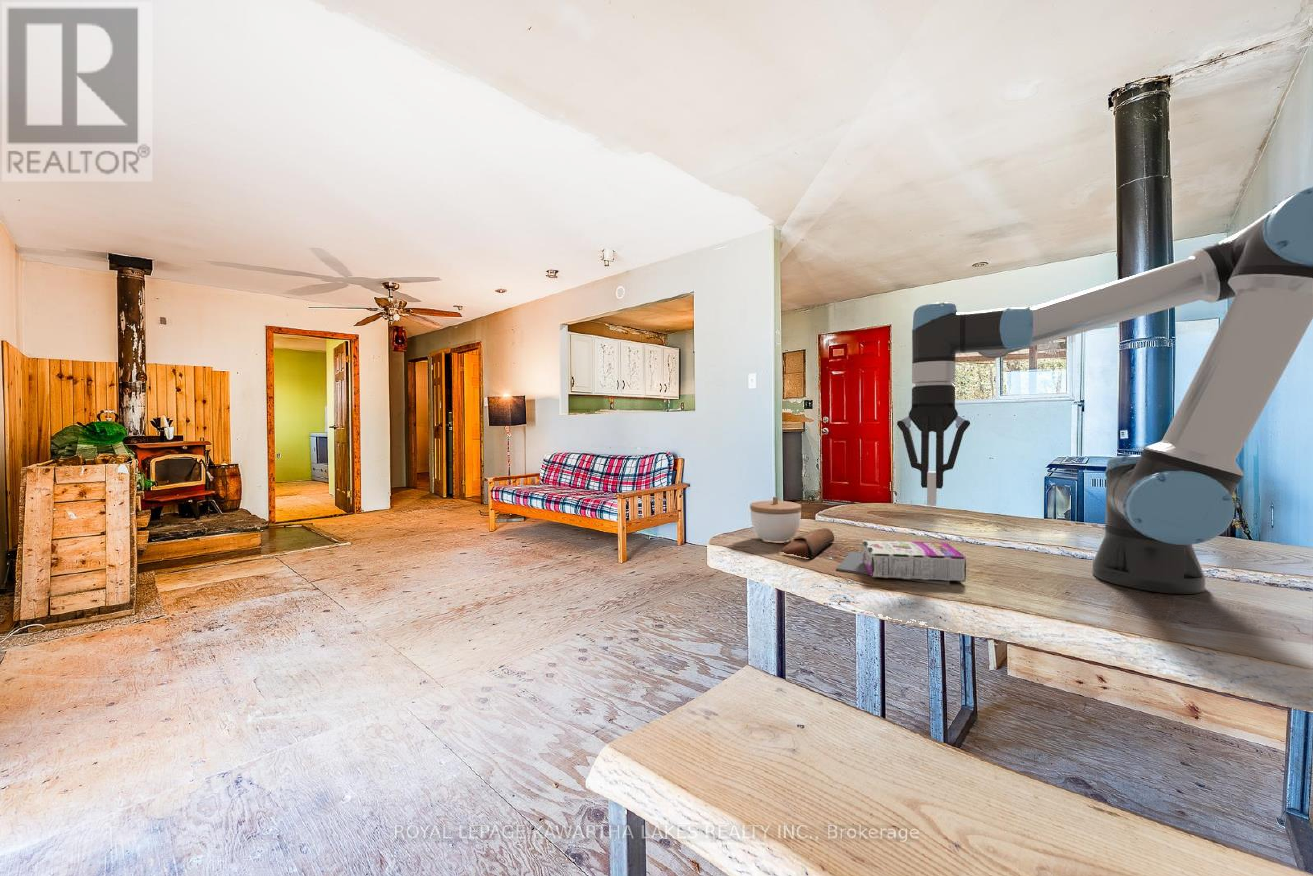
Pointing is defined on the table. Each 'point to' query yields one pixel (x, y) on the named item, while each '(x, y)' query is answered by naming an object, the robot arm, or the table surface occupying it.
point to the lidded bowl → (775, 519)
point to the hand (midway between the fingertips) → (931, 504)
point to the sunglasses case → (809, 543)
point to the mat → (857, 566)
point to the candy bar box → (913, 560)
